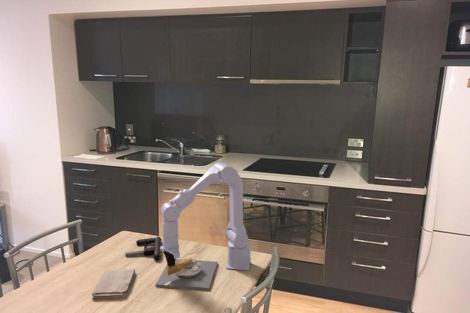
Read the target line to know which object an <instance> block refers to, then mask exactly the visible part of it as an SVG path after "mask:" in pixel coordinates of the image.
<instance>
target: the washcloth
mask: <svg viewBox="0 0 470 313" xmlns="http://www.w3.org/2000/svg"><path fill="white" fill-rule="evenodd" d="M135 274H136V269H135V268H134V269H133V268H128V269H127V268H126V269H120V270H118V269H117V270H116V269H113V270H111V269H108V270H105V271H104V272H103V274H102V276H101V278H100V279H99V280H98V283H97V284H96V286H95V287H94V289H93V291H92V292H91V296H92V298H91V299H92V300H94V299H97V300H112V299H113V300H115V299H117V300H120V299H124V298H125V297H126V296H127V295H128V292H129V290H130V287H131V285H132V283H133V280H134V277H135Z"/></svg>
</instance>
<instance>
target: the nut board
mask: <svg viewBox="0 0 470 313" xmlns="http://www.w3.org/2000/svg"><path fill="white" fill-rule="evenodd" d="M181 260H184V259H183V258H182V259H180V258H177V259H176V260H175V263H177V262H179V261H181ZM195 260H196V262H198V263H201V273H200V274H199V275H198V276H196V277H193V278H181V277H179V276H177V275H176V273H174V274H171V275H167V274H166V266H165V267H164V269H163V270H162V273H161V274H160V276H159V278H158V279H157V281H156V283H155V288H170V289H181V290H182V289H184V290H185V289H186V290H197V291H210V289H211V286H212V282H213V279H214V276H215V273H216V270H217V267H218V261H215V260H214V261H212V260H211V261H209V260H200V259H199V260H197V259H195Z"/></svg>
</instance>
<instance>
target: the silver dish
mask: <svg viewBox="0 0 470 313" xmlns="http://www.w3.org/2000/svg"><path fill="white" fill-rule="evenodd" d="M196 260H197V259H193V258H191V257H189V258H186V259H183V260H181V261H179V262H177V263H174V264H171V265H169V266H167V265H166V266H165V267H166V274H167V275H171V274H174V273H176V275H177V276H179V277H181V278H193V277H196V276H198V275H199V274H200V273H201V263H198V262H196Z"/></svg>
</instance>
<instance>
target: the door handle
mask: <svg viewBox="0 0 470 313" xmlns="http://www.w3.org/2000/svg"><path fill="white" fill-rule="evenodd" d="M162 239H163V238H162V237H160V236H159V235H157V236H156V237H151V238H150V237H149V238H141V239H138V240H136V243H135V244H136V246H143V247H144V248H143V250H136V251H135V250H134V251H126V252H125V254H124V255H125V256H124V257H125V258H131V257H141V256H144V257H152V256H153V259H154V261H159V260H160V259H161V257H162V255H161V253H162V250H161V249H160V247H161V246H162ZM147 245H148V247H147ZM150 246H152V247H150Z"/></svg>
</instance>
